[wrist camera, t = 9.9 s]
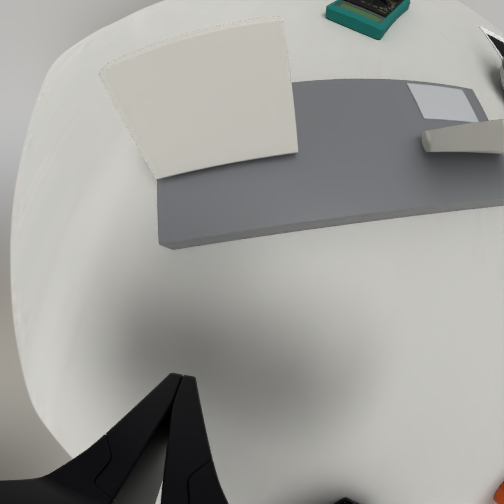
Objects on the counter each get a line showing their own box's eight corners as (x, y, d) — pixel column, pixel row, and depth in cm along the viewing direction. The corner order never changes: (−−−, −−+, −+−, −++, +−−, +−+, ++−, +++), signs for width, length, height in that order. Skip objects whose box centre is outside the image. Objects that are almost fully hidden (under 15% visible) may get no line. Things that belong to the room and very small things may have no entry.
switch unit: (503, 205, 18) (519, 197, 15) (172, 249, 22) (158, 244, 19) (462, 101, 20) (472, 88, 17) (170, 124, 24) (158, 109, 21)
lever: (501, 153, 16) (575, 160, 7) (423, 152, 17) (507, 150, 8) (499, 137, 16) (572, 138, 7) (420, 132, 17) (502, 119, 8)
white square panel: (298, 157, 18) (282, 20, 10) (158, 183, 19) (98, 72, 11) (294, 143, 19) (278, 16, 11) (162, 169, 20) (108, 63, 12)
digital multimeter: (409, 10, 23) (412, -4, 20) (378, 44, 23) (382, 27, 20) (365, -9, 25) (367, -23, 22) (323, 21, 24) (324, 3, 21)
